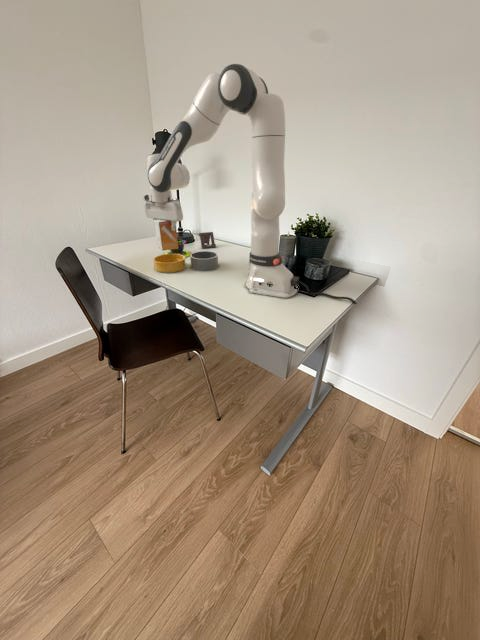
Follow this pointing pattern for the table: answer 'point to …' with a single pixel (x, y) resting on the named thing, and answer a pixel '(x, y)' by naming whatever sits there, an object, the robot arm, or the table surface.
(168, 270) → the bowl
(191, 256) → the pot
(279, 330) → the table surface
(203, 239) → the tablet stand
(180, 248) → the toy cauldron
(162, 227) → the small box
